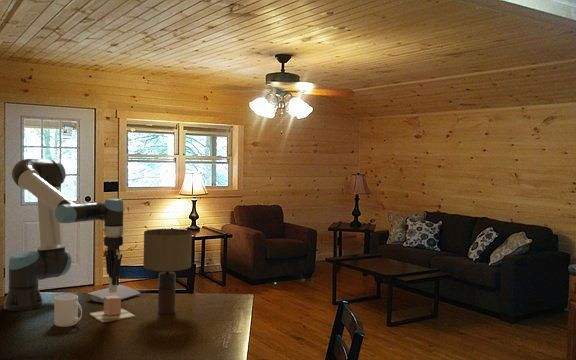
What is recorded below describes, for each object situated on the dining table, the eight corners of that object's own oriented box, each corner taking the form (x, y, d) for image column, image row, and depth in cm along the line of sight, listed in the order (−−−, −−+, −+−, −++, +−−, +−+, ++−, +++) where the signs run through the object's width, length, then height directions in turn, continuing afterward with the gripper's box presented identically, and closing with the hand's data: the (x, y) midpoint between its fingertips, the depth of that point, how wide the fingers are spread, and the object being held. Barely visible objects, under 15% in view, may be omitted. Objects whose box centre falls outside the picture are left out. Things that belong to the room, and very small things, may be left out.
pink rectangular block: (103, 312, 226) (104, 296, 226) (115, 310, 229) (116, 295, 229) (108, 315, 222) (108, 299, 222) (120, 313, 225) (121, 297, 225)
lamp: (132, 314, 227) (134, 232, 226) (160, 303, 246) (162, 227, 245) (172, 321, 220) (174, 236, 219) (198, 309, 239) (200, 230, 237)
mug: (73, 329, 206) (74, 301, 206) (49, 325, 210) (49, 298, 210) (89, 323, 214) (89, 296, 214) (65, 319, 218) (66, 293, 218)
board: (89, 314, 226) (89, 313, 226) (121, 309, 235) (121, 307, 235) (101, 322, 215) (101, 321, 215) (135, 317, 224) (135, 315, 224)
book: (81, 301, 247) (82, 293, 247) (118, 291, 268) (118, 283, 268) (106, 306, 240) (106, 298, 240) (142, 296, 261) (142, 288, 261)
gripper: (98, 234, 227) (98, 290, 228) (110, 238, 217) (110, 296, 218) (116, 233, 232) (115, 288, 232) (128, 237, 222) (127, 294, 222)
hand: (112, 292), depth 225 cm, fingers closed
